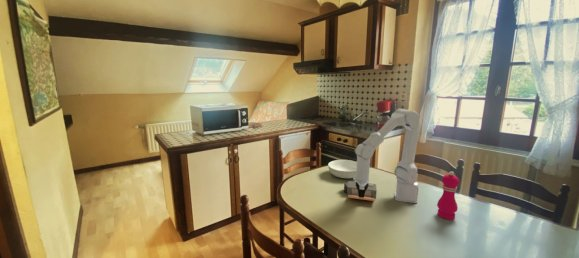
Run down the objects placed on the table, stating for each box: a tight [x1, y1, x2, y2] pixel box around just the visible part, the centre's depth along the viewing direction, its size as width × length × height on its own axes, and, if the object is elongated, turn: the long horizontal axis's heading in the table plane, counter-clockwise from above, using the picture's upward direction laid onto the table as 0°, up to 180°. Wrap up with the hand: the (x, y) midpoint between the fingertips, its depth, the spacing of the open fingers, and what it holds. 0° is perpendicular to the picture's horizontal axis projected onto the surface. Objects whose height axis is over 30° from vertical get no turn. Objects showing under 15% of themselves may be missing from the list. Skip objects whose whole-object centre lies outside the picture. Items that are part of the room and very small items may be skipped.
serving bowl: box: [327, 159, 357, 179], centre depth 147 cm, size 21×21×7 cm
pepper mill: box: [436, 171, 460, 221], centre depth 101 cm, size 7×7×20 cm
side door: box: [347, 195, 376, 202], centre depth 115 cm, size 12×1×7 cm
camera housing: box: [343, 180, 378, 200], centre depth 123 cm, size 16×8×5 cm, turn 73°
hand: (361, 197), depth 113 cm, fingers closed, pressing on side door
